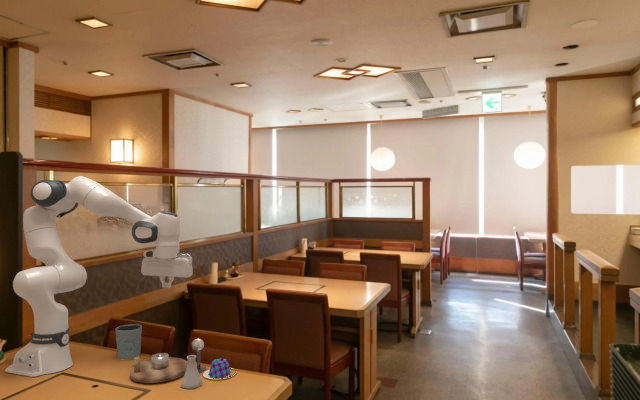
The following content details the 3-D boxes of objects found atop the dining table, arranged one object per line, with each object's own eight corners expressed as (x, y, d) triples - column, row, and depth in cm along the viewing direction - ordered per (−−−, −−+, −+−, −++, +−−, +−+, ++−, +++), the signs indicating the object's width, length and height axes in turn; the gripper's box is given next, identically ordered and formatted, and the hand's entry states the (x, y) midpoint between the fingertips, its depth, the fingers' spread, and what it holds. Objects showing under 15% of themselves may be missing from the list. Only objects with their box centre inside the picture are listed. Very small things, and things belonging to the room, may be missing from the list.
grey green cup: (129, 361, 176) (129, 331, 176) (109, 359, 179) (109, 329, 180) (147, 353, 186) (147, 325, 186) (127, 351, 189) (127, 322, 189)
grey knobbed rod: (190, 372, 165) (190, 339, 165) (195, 368, 169) (195, 336, 169) (202, 373, 165) (202, 340, 165) (206, 369, 169) (206, 336, 169)
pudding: (221, 366, 172) (221, 353, 172) (243, 373, 165) (243, 359, 165) (196, 376, 162) (196, 362, 162) (218, 384, 155) (218, 369, 155)
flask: (196, 390, 149) (196, 360, 149) (176, 388, 151) (176, 359, 151) (205, 382, 156) (206, 353, 156) (187, 380, 158) (187, 352, 158)
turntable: (140, 387, 150) (140, 366, 150) (123, 370, 165) (123, 351, 165) (196, 373, 162) (196, 354, 162) (175, 358, 178) (175, 341, 178)
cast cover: (154, 370, 159) (154, 358, 159) (149, 366, 164) (149, 354, 164) (171, 367, 163) (171, 354, 163) (165, 362, 168) (165, 350, 168)
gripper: (195, 252, 177) (195, 287, 177) (148, 250, 180) (147, 284, 180) (188, 254, 171) (188, 290, 171) (139, 252, 174) (138, 287, 174)
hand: (166, 287), depth 176 cm, fingers closed
